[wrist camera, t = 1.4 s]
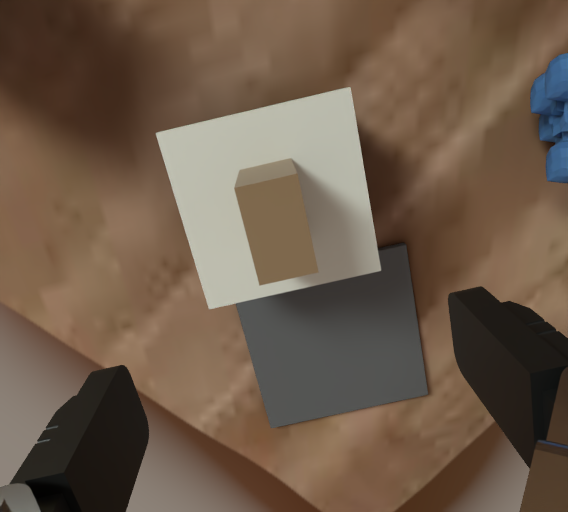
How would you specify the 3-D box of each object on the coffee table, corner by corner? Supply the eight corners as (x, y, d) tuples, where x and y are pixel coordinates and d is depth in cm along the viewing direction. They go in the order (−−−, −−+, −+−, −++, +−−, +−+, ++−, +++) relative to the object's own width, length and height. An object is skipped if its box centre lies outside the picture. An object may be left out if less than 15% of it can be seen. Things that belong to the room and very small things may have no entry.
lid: (347, 87, 27) (372, 85, 21) (377, 265, 31) (406, 308, 24) (159, 131, 27) (129, 143, 21) (210, 302, 31) (197, 354, 25)
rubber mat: (404, 242, 38) (406, 244, 37) (425, 390, 42) (428, 394, 42) (230, 281, 38) (230, 284, 38) (270, 423, 43) (271, 428, 42)
